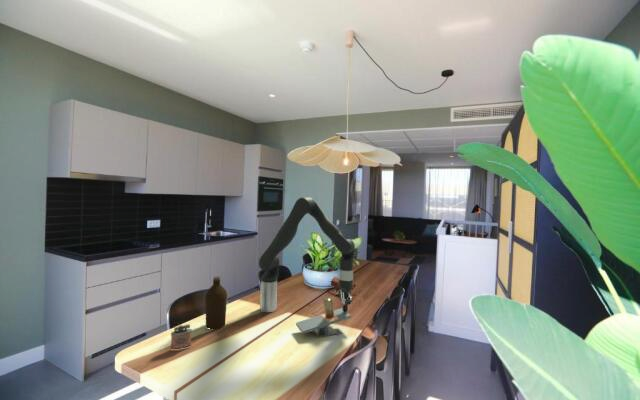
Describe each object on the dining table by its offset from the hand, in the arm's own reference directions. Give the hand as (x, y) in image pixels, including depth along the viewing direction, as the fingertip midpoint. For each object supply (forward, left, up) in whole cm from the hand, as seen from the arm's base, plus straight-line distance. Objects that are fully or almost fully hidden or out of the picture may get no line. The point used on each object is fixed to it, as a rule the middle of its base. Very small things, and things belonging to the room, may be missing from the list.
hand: (345, 311), depth 148 cm
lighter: (-77, +6, -9) cm, 78 cm away
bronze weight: (-9, 0, -2) cm, 9 cm away
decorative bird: (+23, +48, -9) cm, 54 cm away
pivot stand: (-12, 0, -9) cm, 15 cm away
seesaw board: (-12, 0, -4) cm, 13 cm away
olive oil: (-62, +24, -9) cm, 67 cm away
